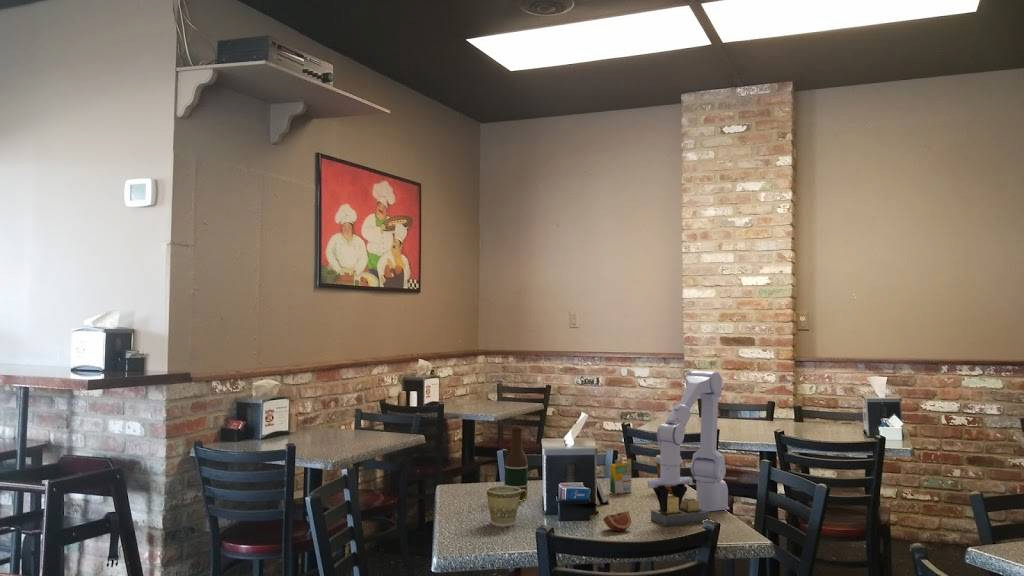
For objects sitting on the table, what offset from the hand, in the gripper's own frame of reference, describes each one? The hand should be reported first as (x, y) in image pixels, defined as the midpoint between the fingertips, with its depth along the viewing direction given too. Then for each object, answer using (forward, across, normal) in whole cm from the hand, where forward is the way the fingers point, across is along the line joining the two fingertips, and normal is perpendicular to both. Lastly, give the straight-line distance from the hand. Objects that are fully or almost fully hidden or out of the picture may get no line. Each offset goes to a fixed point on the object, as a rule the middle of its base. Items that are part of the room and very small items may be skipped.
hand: (669, 510), depth 236 cm
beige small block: (+2, 0, 0) cm, 2 cm away
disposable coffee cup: (+4, -24, -36) cm, 44 cm away
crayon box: (+4, -8, -40) cm, 41 cm away
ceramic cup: (+4, +46, -16) cm, 48 cm away
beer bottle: (+4, +30, -44) cm, 54 cm away
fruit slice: (+4, +20, +2) cm, 20 cm away
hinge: (+4, +8, -34) cm, 36 cm away
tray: (+3, -4, 0) cm, 5 cm away
